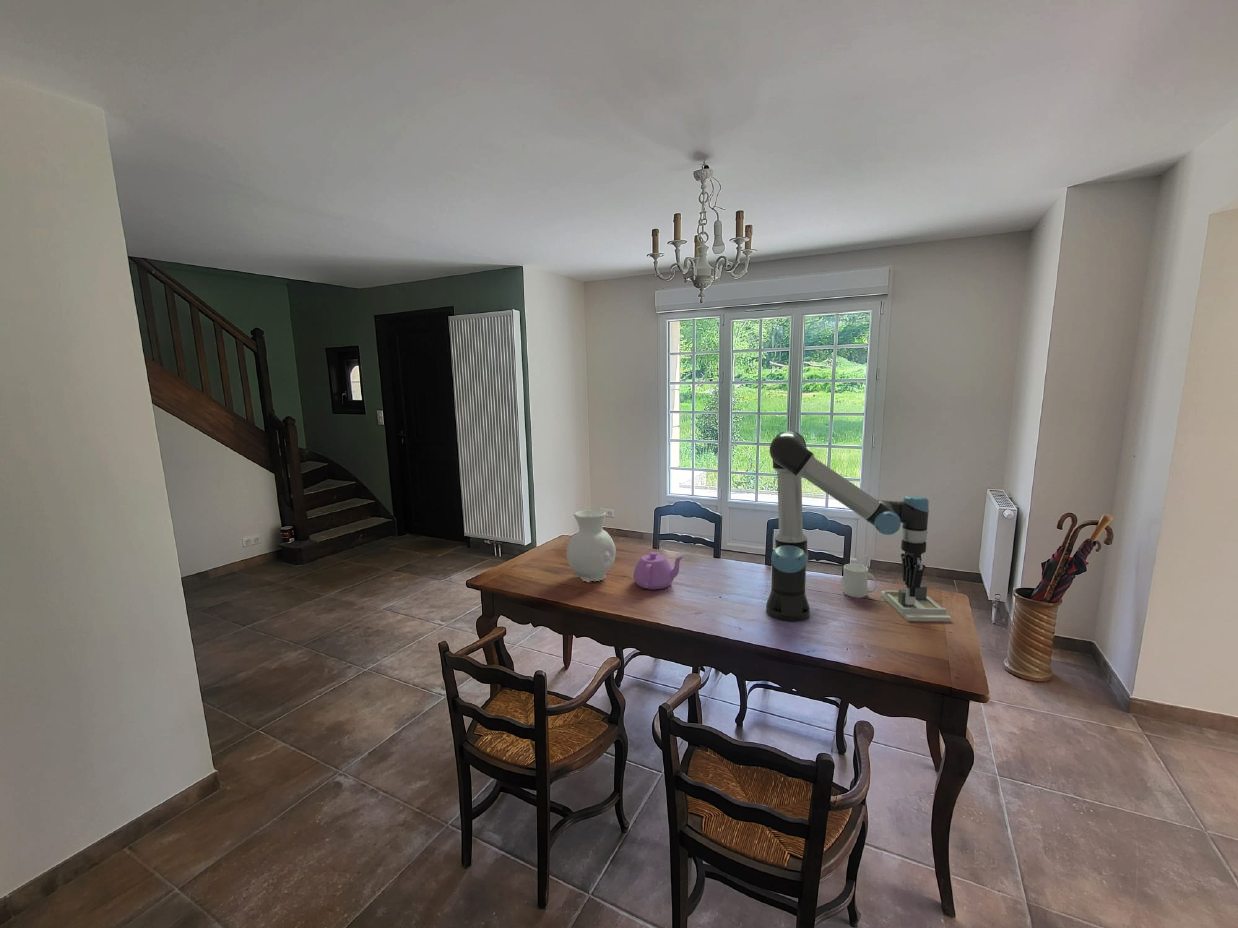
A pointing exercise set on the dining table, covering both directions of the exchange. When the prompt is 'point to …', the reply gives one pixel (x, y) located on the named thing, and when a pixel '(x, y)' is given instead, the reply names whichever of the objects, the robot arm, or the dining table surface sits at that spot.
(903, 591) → the tab
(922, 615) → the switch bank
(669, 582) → the teapot
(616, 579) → the dining table surface
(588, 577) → the vase
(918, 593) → the tab
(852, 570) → the mug
